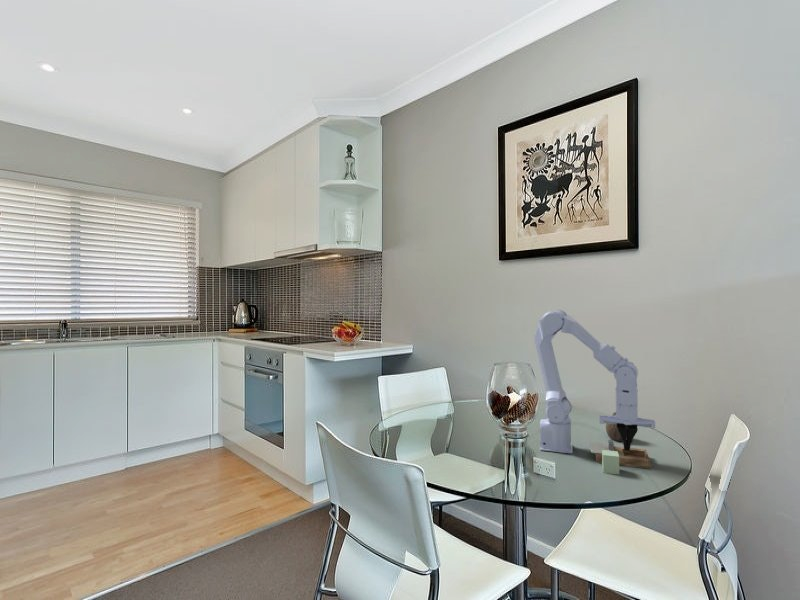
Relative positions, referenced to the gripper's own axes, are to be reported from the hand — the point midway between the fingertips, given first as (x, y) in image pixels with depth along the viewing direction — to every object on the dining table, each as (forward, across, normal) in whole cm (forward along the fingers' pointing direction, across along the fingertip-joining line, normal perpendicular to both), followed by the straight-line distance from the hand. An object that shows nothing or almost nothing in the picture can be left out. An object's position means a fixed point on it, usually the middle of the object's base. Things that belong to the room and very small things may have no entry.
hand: (626, 449), depth 129 cm
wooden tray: (+3, -2, 0) cm, 4 cm away
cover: (+1, -7, 0) cm, 7 cm away
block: (+3, -5, -10) cm, 11 cm away
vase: (+3, -1, +18) cm, 19 cm away
